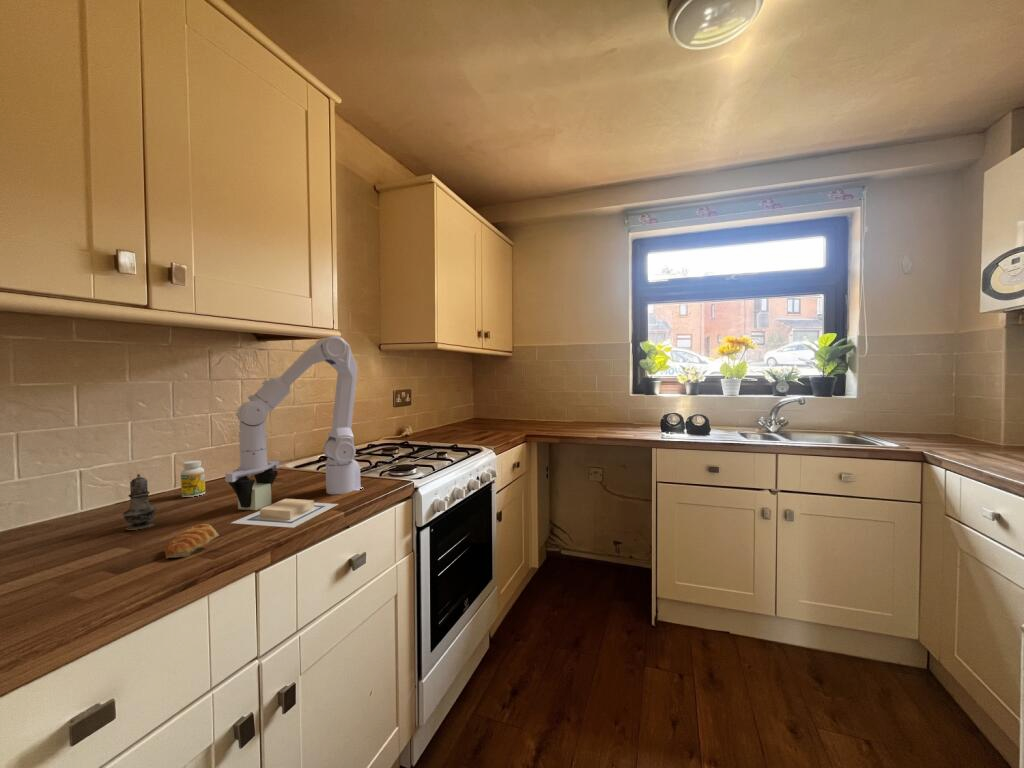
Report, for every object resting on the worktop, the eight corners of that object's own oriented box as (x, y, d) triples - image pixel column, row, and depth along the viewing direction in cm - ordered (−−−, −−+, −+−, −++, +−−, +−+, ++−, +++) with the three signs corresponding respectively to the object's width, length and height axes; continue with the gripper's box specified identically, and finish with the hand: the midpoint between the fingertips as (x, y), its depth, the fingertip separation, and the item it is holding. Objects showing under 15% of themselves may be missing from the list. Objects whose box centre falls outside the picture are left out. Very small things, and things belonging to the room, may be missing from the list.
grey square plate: (283, 504, 107) (283, 500, 107) (338, 507, 104) (338, 503, 104) (230, 527, 92) (230, 522, 92) (293, 532, 88) (293, 527, 88)
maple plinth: (285, 506, 103) (285, 498, 103) (314, 508, 101) (313, 500, 101) (260, 517, 95) (259, 509, 95) (290, 519, 93) (290, 511, 93)
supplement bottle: (209, 492, 120) (207, 459, 120) (199, 497, 115) (198, 463, 114) (187, 493, 119) (186, 460, 118) (177, 499, 114) (176, 464, 113)
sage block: (254, 506, 106) (254, 483, 106) (271, 507, 105) (270, 483, 105) (238, 512, 101) (237, 488, 101) (255, 513, 100) (254, 489, 100)
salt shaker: (164, 523, 95) (162, 471, 95) (134, 532, 89) (132, 477, 89) (145, 520, 97) (143, 470, 96) (115, 530, 91) (113, 476, 91)
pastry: (192, 560, 76) (191, 539, 76) (152, 563, 75) (151, 542, 75) (221, 539, 86) (220, 521, 85) (185, 542, 85) (185, 523, 85)
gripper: (262, 444, 111) (264, 494, 111) (213, 454, 97) (215, 512, 97) (285, 444, 109) (286, 495, 110) (239, 455, 95) (240, 513, 96)
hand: (255, 503), depth 103 cm, fingers closed on sage block, 5 cm apart
